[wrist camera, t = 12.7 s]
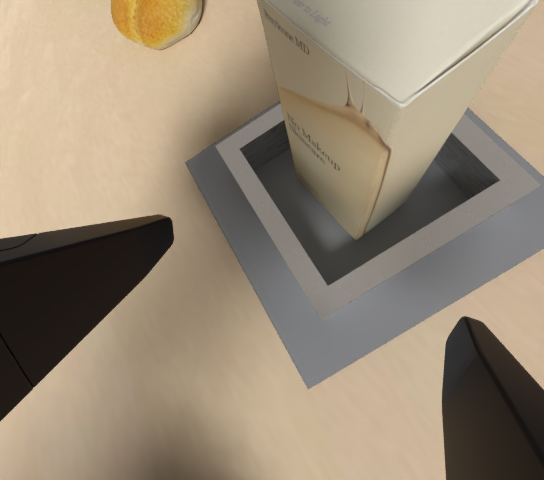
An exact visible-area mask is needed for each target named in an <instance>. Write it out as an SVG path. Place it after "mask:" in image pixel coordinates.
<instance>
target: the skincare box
mask: <svg viewBox="0 0 544 480" xmlns="http://www.w3.org/2000/svg"><path fill="white" fill-rule="evenodd" d="M537 2H538V0H257V3H258V7H259V11H260V15H261V19H262V24H263V28H264V32H265V37H266V41H267V45H268V50H269V54H270V59H271V63H272V68H273V72H274V76H275V81H276V85H277V89H278V94H279V98H280V102H281V107H282V112H283V116H284V120H285V125H286V129H287V134H288V138H289V143H290V147H291V152H292V156H293V161H294V166H295V170H296V175H297V178H298V179H299V180H300V181H301V182H302V183H303V184H304V185H305V187H306V188H307V189H308V190H309V191H310V192H311V193H312V194H313V196H314V197H315V198H316V199H317V200H318V201H319V202H320V203H321V204H322V205H323V206H324V208H325V209H326V210H327V211H328V212H329V213H330V214H331V215H332V216H333V217H334V218H335V219H336V220H337V221H338V223H339V224H340V225H341V226H342V227H343V228H344V229H345V230H346V231H347V232H348V233H349V234H350V235H351V236H352V237H353V238H354V239H355V240H358V239H359V238H360V237H362V236H363V235H364V234H366V233H367V232H368V231H370V230H371V229H372V228H374V227H375V226H376V225H377V224H379V223H380V222H381V221H383V220H384V219H385V218H386V217H388V216H389V215H390V214H391V213H393V212H394V211H395V210H396V209H397V208H399V207H400V206H401V205H402V204H403V203H405V202H406V201H407V199H408V197H409V196H410V194H411V193H412V191H413V190H414V188H415V187H416V185H417V184H418V182H419V181H420V179H421V178H422V176H423V175H424V173H425V172H426V170H427V169H428V167H429V165H430V164H431V162H432V161H433V159H434V158H435V156H436V155H437V153H438V152H439V150H440V149H441V147H442V146H443V144H444V143H445V141H446V140H447V138H448V137H449V135H450V133H451V132H452V131H453V129H454V128H455V126H456V125H457V123H458V122H459V120H460V119H461V117H462V116H463V114H464V113H465V111H466V109H467V108H468V106H469V105H470V103H471V102H472V100H473V99H474V97H475V96H476V94H477V93H478V91H479V90H480V88H481V86H482V85H483V83H484V82H485V80H486V79H487V77H488V76H489V74H490V73H491V71H492V70H493V68H494V67H495V65H496V64H497V62H498V61H499V59H500V58H501V56H502V55H503V53H504V52H505V50H506V49H507V47H508V46H509V44H510V43H511V41H512V40H513V38H514V37H515V35H516V34H517V32H518V31H519V29H520V28H521V26H522V25H523V23H524V22H525V20H526V19H527V17H528V16H529V15H530V13H531V12H532V10H533V9H534V7H535V5H536V4H537Z"/></svg>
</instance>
